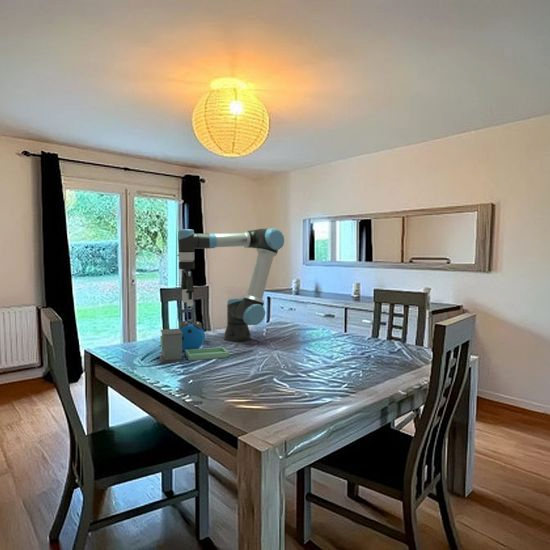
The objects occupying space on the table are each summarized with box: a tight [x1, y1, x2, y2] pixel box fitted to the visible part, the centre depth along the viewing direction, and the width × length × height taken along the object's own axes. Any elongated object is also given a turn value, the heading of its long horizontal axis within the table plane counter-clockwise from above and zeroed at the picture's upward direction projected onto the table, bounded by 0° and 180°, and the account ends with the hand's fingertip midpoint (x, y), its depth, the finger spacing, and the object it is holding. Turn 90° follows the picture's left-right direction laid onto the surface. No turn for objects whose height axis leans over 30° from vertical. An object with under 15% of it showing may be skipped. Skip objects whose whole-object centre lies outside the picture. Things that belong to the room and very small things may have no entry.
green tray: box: [184, 346, 230, 362], centre depth 196 cm, size 19×11×2 cm, turn 111°
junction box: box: [158, 328, 186, 364], centre depth 190 cm, size 10×12×13 cm
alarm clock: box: [179, 320, 206, 352], centre depth 205 cm, size 13×6×15 cm, turn 89°
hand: (187, 304), depth 202 cm, fingers open, 13 cm apart
